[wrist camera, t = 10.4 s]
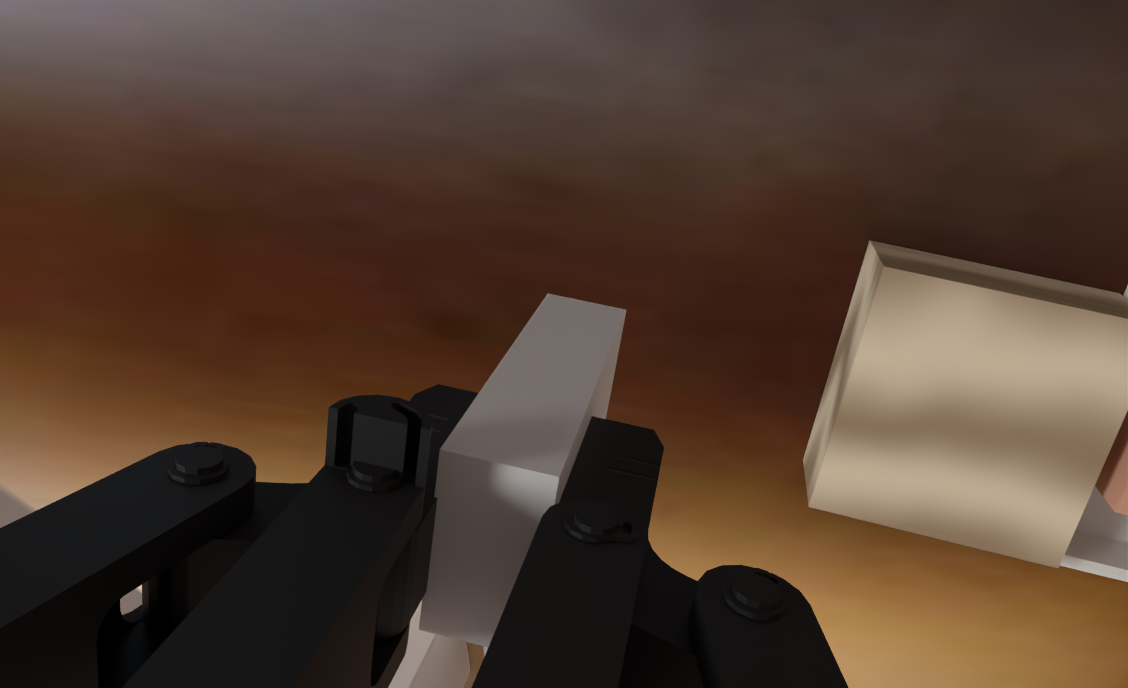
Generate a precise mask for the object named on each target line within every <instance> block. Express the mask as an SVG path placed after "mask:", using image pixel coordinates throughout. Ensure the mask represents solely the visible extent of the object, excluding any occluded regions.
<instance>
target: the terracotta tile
mask: <svg viewBox="0 0 1128 688" xmlns="http://www.w3.org/2000/svg"><path fill="white" fill-rule="evenodd" d="M1095 487H1096V488H1097V489H1098V491H1099V492H1100V493H1101V495H1102V496H1103V497H1104V499H1105V500H1106V502H1107V503H1108V504H1109V506H1110V507H1111V508H1112V510H1113V511H1114V512H1116V513H1120V514H1123V515H1127V516H1128V411H1127V413H1126V415H1125V418H1124V420H1123V422H1122V424H1121V427H1120V429H1119V431H1118V434H1117V436H1116V438H1115V440H1114V443H1113V445H1112V447H1111V450H1110V452H1109V454H1108V457H1107V459H1106V461H1105V463H1104V466H1103V468H1102V470H1101V473H1100V475H1099V477H1098V479H1097V482H1096V484H1095Z"/></svg>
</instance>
